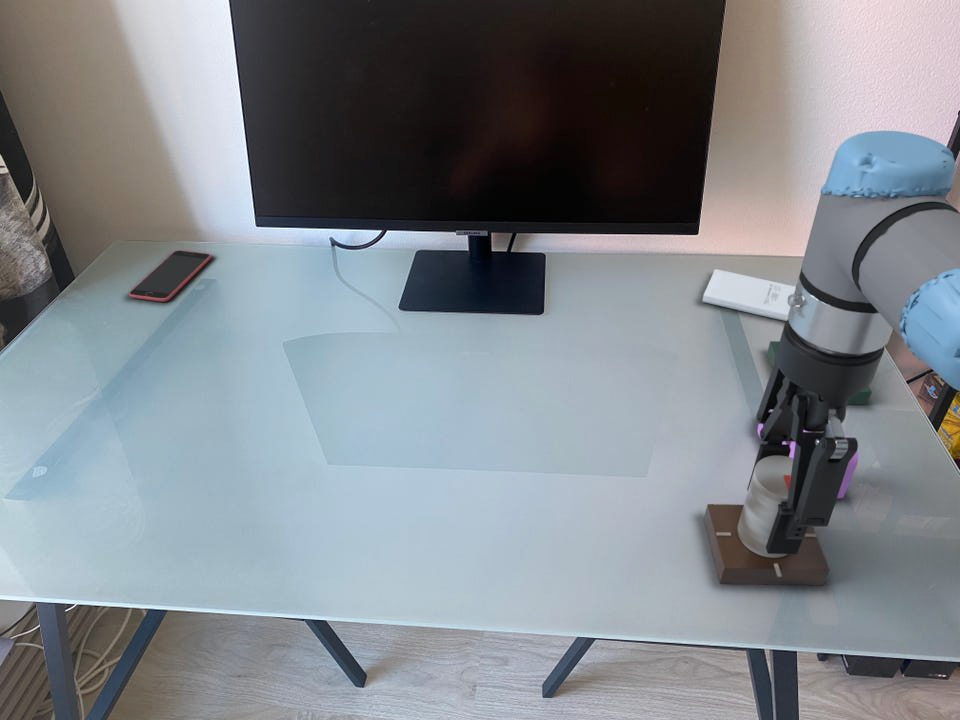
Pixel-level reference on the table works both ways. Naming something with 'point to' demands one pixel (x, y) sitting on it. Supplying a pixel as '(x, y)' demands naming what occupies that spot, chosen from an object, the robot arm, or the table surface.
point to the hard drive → (749, 294)
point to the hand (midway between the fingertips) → (771, 520)
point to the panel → (755, 569)
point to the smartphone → (170, 276)
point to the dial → (764, 502)
